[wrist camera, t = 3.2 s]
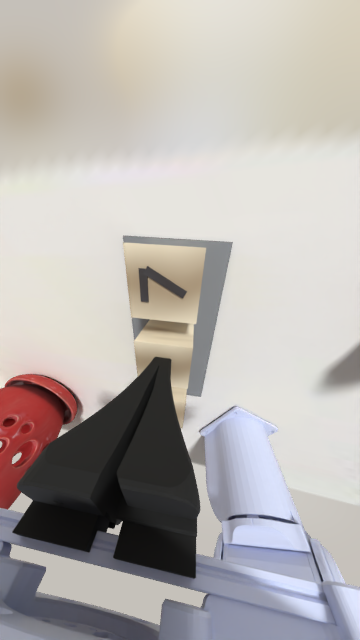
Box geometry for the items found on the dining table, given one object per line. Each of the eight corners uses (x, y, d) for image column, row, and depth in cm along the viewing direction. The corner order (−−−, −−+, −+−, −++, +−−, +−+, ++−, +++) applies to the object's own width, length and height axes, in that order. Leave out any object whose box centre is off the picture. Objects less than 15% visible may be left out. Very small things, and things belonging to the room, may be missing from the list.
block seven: (196, 303, 13) (196, 324, 9) (151, 298, 13) (130, 317, 9) (202, 251, 11) (206, 247, 7) (149, 247, 11) (122, 242, 7)
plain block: (189, 354, 16) (187, 389, 12) (152, 350, 16) (138, 381, 12) (194, 321, 14) (193, 348, 10) (151, 316, 14) (133, 341, 10)
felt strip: (200, 394, 19) (200, 396, 19) (140, 385, 20) (139, 387, 19) (231, 242, 11) (232, 242, 10) (125, 236, 11) (122, 235, 11)
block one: (185, 391, 19) (182, 429, 14) (154, 386, 19) (142, 422, 15) (188, 367, 17) (185, 403, 12) (153, 362, 17) (139, 396, 13)
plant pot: (77, 373, 20) (-58, 504, 9) (90, 419, 26) (15, 534, 15) (-3, 356, 21) (-218, 464, 10) (27, 406, 26) (-88, 508, 16)
